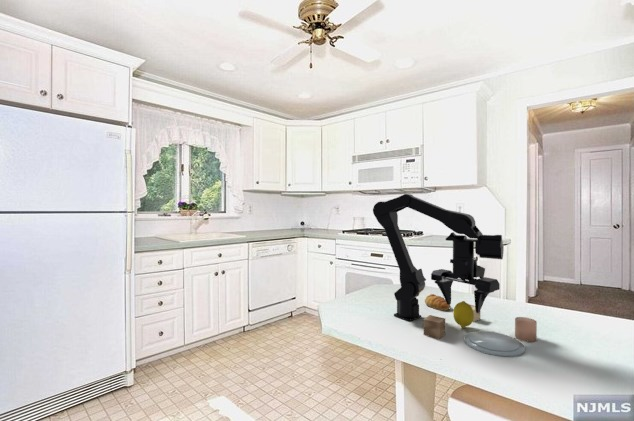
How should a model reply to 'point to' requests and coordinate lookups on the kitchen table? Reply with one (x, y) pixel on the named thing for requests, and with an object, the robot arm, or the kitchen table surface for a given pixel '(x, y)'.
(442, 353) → the kitchen table surface
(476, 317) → the beech block
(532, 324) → the pink cylinder
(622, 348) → the kitchen table surface
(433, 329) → the walnut block
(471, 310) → the lemon
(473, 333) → the plate
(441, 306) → the pastry
